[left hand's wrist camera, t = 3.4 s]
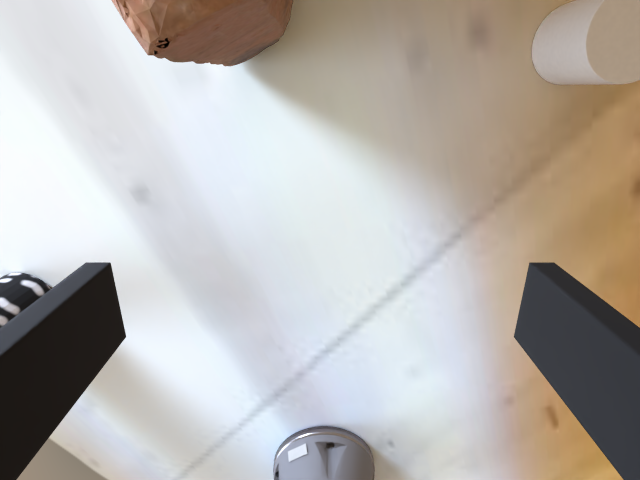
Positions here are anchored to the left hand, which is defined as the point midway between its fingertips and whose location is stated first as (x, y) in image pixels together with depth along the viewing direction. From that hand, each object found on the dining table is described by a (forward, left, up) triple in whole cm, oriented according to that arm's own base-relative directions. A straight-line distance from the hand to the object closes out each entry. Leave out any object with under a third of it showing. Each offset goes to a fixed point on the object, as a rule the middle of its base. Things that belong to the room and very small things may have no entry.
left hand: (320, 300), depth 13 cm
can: (-7, -27, -34) cm, 44 cm away
